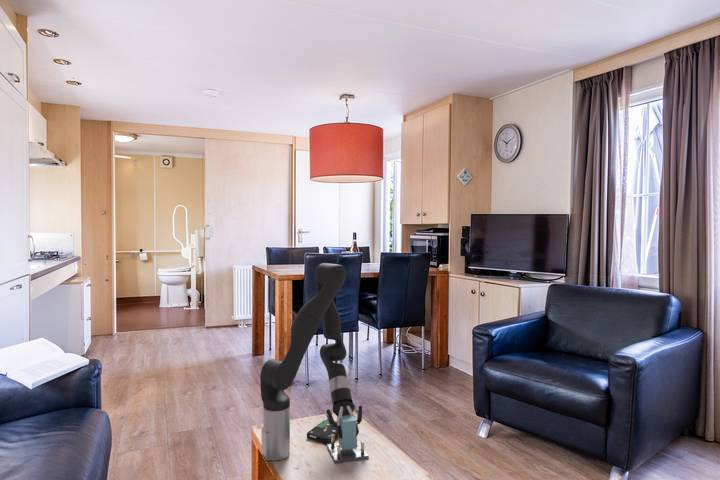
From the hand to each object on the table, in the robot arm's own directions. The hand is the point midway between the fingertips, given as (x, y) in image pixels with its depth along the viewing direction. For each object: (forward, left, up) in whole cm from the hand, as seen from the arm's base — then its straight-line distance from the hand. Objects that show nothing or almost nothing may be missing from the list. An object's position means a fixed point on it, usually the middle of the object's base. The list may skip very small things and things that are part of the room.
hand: (348, 436), depth 161 cm
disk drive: (0, +19, -7) cm, 20 cm away
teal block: (0, +2, -4) cm, 5 cm away
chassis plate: (0, +2, -7) cm, 7 cm away
